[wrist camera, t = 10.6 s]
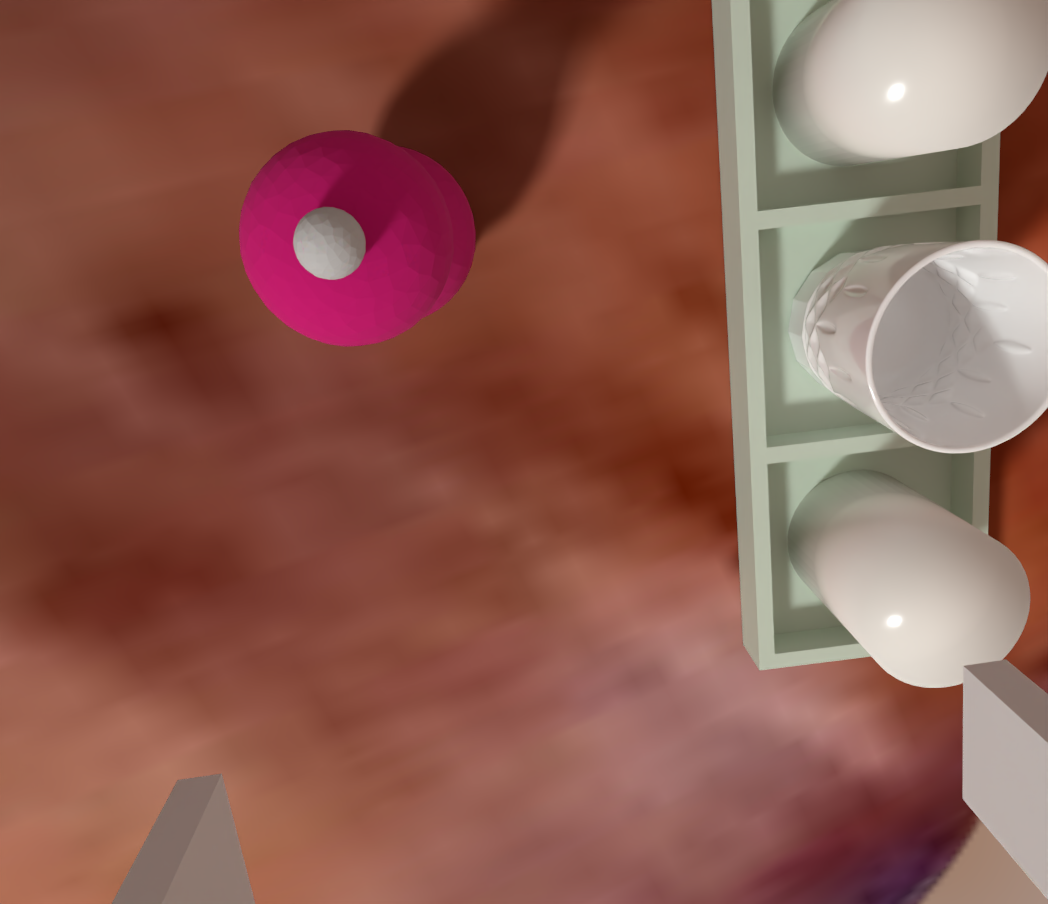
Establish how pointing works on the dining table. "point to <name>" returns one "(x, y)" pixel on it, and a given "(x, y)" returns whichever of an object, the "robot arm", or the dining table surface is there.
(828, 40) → the white round cylinder
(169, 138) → the dining table surface
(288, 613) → the dining table surface
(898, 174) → the caddy
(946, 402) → the white cup
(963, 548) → the white capsule
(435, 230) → the pepper mill
